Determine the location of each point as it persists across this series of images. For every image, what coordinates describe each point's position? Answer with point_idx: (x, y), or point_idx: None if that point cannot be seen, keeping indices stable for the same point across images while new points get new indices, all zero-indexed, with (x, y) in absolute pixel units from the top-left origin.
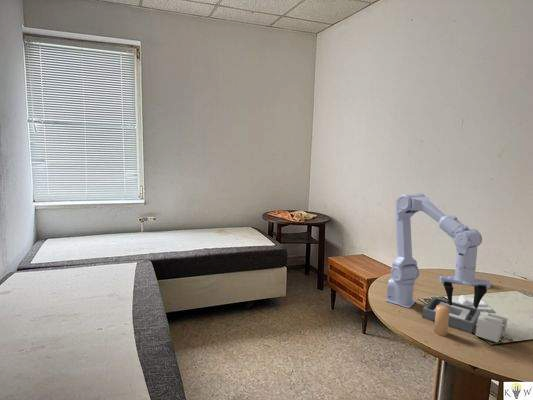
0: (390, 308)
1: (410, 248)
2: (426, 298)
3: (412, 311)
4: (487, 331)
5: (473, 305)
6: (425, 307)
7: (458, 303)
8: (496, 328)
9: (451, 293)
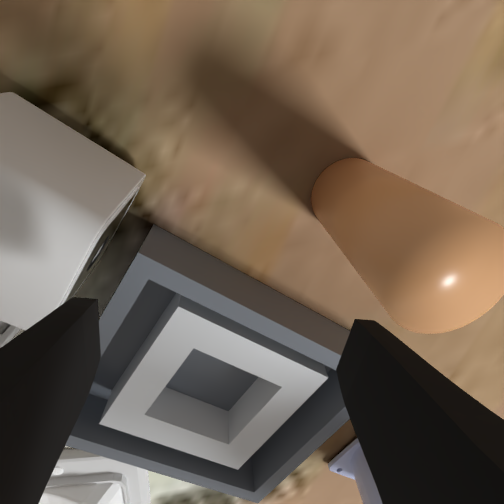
0: (480, 391)
1: None
2: None
3: None
4: (57, 146)
5: (99, 357)
6: None
7: (148, 469)
8: None
9: (502, 456)
